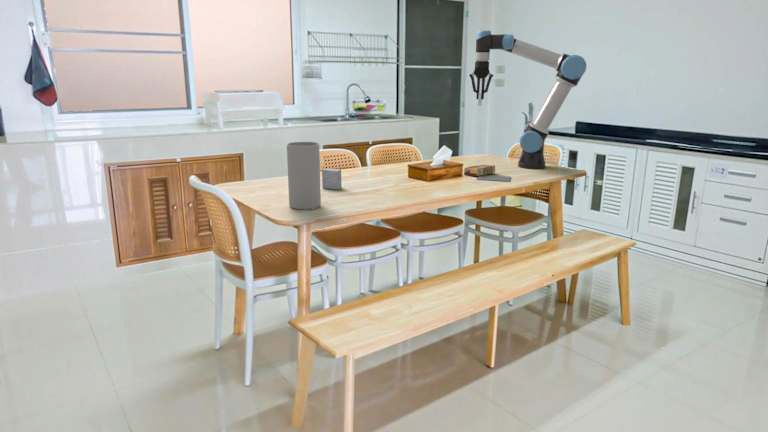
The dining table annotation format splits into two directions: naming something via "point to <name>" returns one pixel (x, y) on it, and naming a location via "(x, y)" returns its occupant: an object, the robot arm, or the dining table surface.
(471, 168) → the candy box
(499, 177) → the slate mat
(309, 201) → the cylinder vase
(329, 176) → the medicine box
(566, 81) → the robot arm
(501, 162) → the dining table surface
